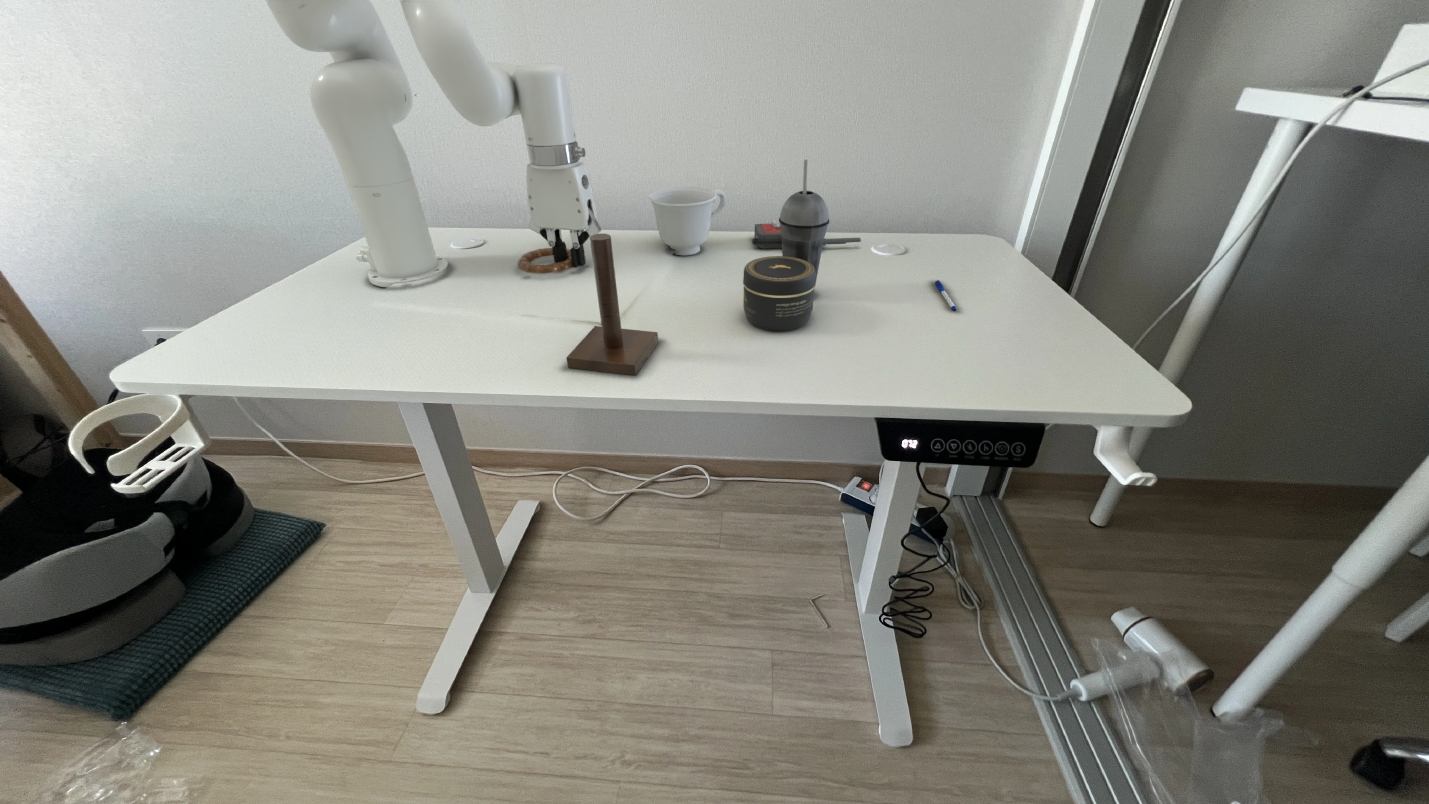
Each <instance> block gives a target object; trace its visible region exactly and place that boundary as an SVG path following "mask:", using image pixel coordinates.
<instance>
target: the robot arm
mask: <svg viewBox="0 0 1429 804" xmlns="http://www.w3.org/2000/svg"><path fill="white" fill-rule="evenodd" d="M265 2H266V5H267V6H268V8H269V10H270V12H271V13H272V15H273V18H274V19H275V21H276V22H277V24H278V26H279V27H280V30H281V31H282V32H283V34H284V35H285V36H286V37H287V38H288V39H289V41H290V42H292V44H295V45H296V46H297V47H299V48H301V49H303V50H306V51H309V52H314V53H329V55H330V56H331V59H332V60H333V62H332V63H329V64H327V65H324V66H322V67H321V68H320V69H319V70H318V71H316V73H315V75H314V76H313V77H312V80H311V83H310V88H309V99H310V104H311V107H312V110H313V112H314V114H315V117H316V119H317V121H318V123H319V125H320V127H321V128H322V130H323V133H324V134H325V136H326V138H327V140H328V142H329V144H330V146H331V148H332V150H333V154H334V155H335V157H336V160H337V162H338V166H339V168H340V170H341V173H342V176H343V179H344V182H345V184H346V186H347V189H348V192H349V194H350V197H351V200H352V203H353V206H354V209H355V211H356V215H357V218H358V221H359V224H360V225H361V229H362V232H363V234H364V238H365V240H366V243H367V246H366V245H363V246H361V247H360V248H359V253H357V254H356V256H355V258H356V260H357V261H358V262H359V263H360V262H361V263H362V262H364V263H369V266H370V269H369V270H368V273H367V278H368V280H369V282H370V283H371V284H372V285H375V286H377V287H380V288H389V287H391V286H392V285H394V284H404V283H405V284H406V283H410V282H416V281H421V280H425V279H428V278H431V277H433V276H436V275H438V274H440V273H442V272H443V271H445V270H446V269H448V266H449V262H448V261H447V259H445V258H444V257H441V256H439V255H437V253H436V250H435V247H434V244H433V241H432V237H431V233H430V229H429V226H428V223H427V220H426V216H425V212H424V209H423V205H422V202H421V198H420V195H419V192H418V187H417V185H416V181H415V178H414V174H413V172H412V168H411V164H410V162H409V159H408V156H407V153H406V151H405V149H404V147H403V143H402V142H401V140H400V139H399V136H398V135H397V133H396V130H395V127H394V126H395V125H398V124H399V123H401V122H402V121H404V120H406V118H407V117H408V116H409V115H410V112H411V111H412V107H413V92H412V88H411V85H410V82H409V79H408V77H407V75H406V72H405V70H404V68H403V66H402V63H401V62H400V59H399V57H398V55H397V53H396V51H395V48H394V46H393V44H392V42H391V40H390V38H389V35H388V33H387V31H386V29H385V27H384V24H383V22H382V20H381V18H380V16H379V14H378V12H377V10H376V8H375V7H374V5H373V3H372V2H371V1H370V0H265ZM399 2H400V5H401V8H402V13H403V15H404V18H405V21H406V23H407V26H408V28H409V30H410V33H411V36H412V38H413V41H414V44H415V46H416V48H417V50H418V52H419V54H420V57H421V58H422V60H423V62H424V64H425V65H426V67H427V70H429V72H430V73H431V75H432V77H433V78H434V80H435V81H436V83H437V85H438V86H439V88H440V90H441V91H442V92H443V94H444V96H445V97H446V99H447V100H448V102H449V103H450V104H451V106H452V107H453V108H454V110H455V111H456V112H457V113H458V114H459V116H461V117H462V118H463V119H464V120H466V121H467V122H469V123H471V124H473V125H475V126H479V127H492V126H495V125H497V124H499V123H500V122H502V121H504V120H506V119H509V118H510V117H513V116H518V115H519V116H521V122H522V127H523V134H524V139H525V144H526V149H527V155H528V160H529V162H528V163H527V165H526V192H527V193H526V194H527V203H528V210H529V215H530V221H529V224H528V227H529V230H531V231H533V232H535V233H537V234H539V235H540V236H541V237H542V238H543V239H544V240H545V241H546V242H547V244H548V246H549V248H552V250H553V255H552V256H553V260H554V263H558V262H561V261H565V260H566V259H568V255H567V249H568V248H567V244H566V241H563V238H562V237H563V236H562V230H566V231H569V235H570V241H571V246H572V247H571V248H570V253H571V259H572V266H573V267H572V268H573V269H576V268H578V267H579V266H584V265H585V264H586V255H585V248H584V245H585V244H586V243H587V241H588V240H589V239H590V236H592V235H595V234H600V233H601V232H602V227H601V226H600V223H599V222H598V220H597V219H598V213H597V205H596V202H595V201H596V200H595V196H594V192H593V187H592V183H591V180H590V176H589V173H588V170H587V169H588V168H587V167H586V165H585V164H586V163H585V162H584V161H580V160H581V159H580V158H585V157H586V148H585V147H580V146H579V144H578V141H577V135H576V131H575V130H576V129H575V122H574V116H573V106H572V100H571V99H572V98H571V94H570V86H569V84H570V83H569V78H568V74H567V71H566V69H565V68H564V67H563V66H562V65H561V64H558V63H553V62H534V63H533V62H531V63H525V64H512V63H507V62H506V63H505V62H499V61H487V60H486V58H485V56H484V55H483V53H482V51H481V49H480V47H479V46H478V44H477V43H476V40H475V39H474V37H473V34H472V33H471V30H470V29H469V27H468V25H467V22H466V20H465V17H464V15H463V11H462V7H461V4H460V0H399ZM566 248H567V249H566Z"/></svg>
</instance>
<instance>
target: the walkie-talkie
mask: <svg viewBox="0 0 1429 804" xmlns="http://www.w3.org/2000/svg"><path fill="white" fill-rule="evenodd" d="M753 237H754V238H752V240H751V244H752V245H757V247H758V248H759V249H763V250H764V249H782V235H781V231H780V222H777V221H776V219H771V223H755V224H754V236H753ZM847 243H862V238H861V237H838V238H825V237H824V240H823V246H826V245H846V244H847Z"/></svg>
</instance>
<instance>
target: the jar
mask: <svg viewBox="0 0 1429 804" xmlns="http://www.w3.org/2000/svg"><path fill="white" fill-rule="evenodd" d="M815 278H816V271H815V268H814V266H813V265H812V264H810V263H809V262H807V261H805V260H802V259H799V258H794V257H787V256H782V255H772V256H771V255H770V256H763V257H759V258H756V259H753V260H751V261H749V262H747V263H746V264H745V266H744V268H743V277H742V285H743V305H742V306H743V311H744V316H745V319H746V320H747V321H748V322H749V323H750V324H751V325H752V326H753V327H755V328H757V329H761V330H763V331H769V332H789V331H790V332H791V331H794V330H798V329H800V328H802V327H803V326H804V325H805V324H807V323H808V321H809V319H810V317H811V315H812V312H813V308H814V295H815V289H816V285H815V284H817V281H816V282H815Z"/></svg>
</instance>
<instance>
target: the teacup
mask: <svg viewBox="0 0 1429 804" xmlns="http://www.w3.org/2000/svg"><path fill="white" fill-rule="evenodd" d="M717 197H719V204H718V206H717V207H716V208H715V210H713V206H714V204H715V202H716V199H717ZM648 200H649V202H651V204H652V206H653V207H652V208H653V211H654V216H655V219H656V226H657V231H658V235H659V238H660V239H661V240H662V242H663V243H665V244H666V245H667V246H669V247H670V248H671V249H672V250H674V252H673V255H675V256H676V255H677V256H692V255H696V254H698V253H700V251H701V245H702V244H703V243H704V242H706V240H707V239H708V237H709V234H710V229H711V223H712V221H713V220H714V219H715V218H716V217H718V216H720V215H721V214H722V213H723V211H724V210H725V208H726V205H727V196H726V193H725V192H724V191H723V190H722V189H714V190H711V189H708V188H704V187H699V186H698V187H697V186H675V187H674V186H673V187H666V188H661V189H658V190H655V191H653V192H651V193H650V194H649V195H648Z"/></svg>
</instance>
